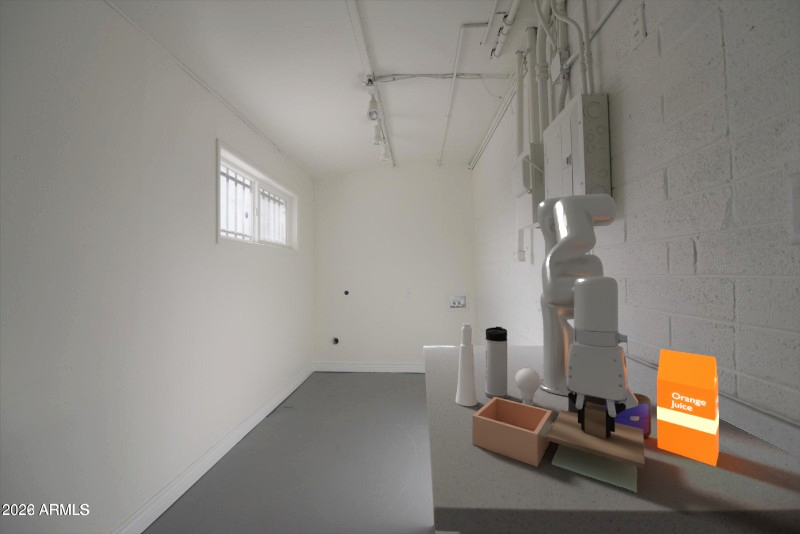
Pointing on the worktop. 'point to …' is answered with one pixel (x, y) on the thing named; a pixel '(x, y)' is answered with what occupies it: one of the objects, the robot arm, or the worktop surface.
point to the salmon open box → (512, 429)
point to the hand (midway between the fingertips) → (596, 430)
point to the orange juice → (688, 405)
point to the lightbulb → (527, 384)
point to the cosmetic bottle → (466, 370)
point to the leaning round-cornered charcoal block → (626, 412)
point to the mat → (596, 467)
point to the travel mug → (496, 362)
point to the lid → (599, 436)
